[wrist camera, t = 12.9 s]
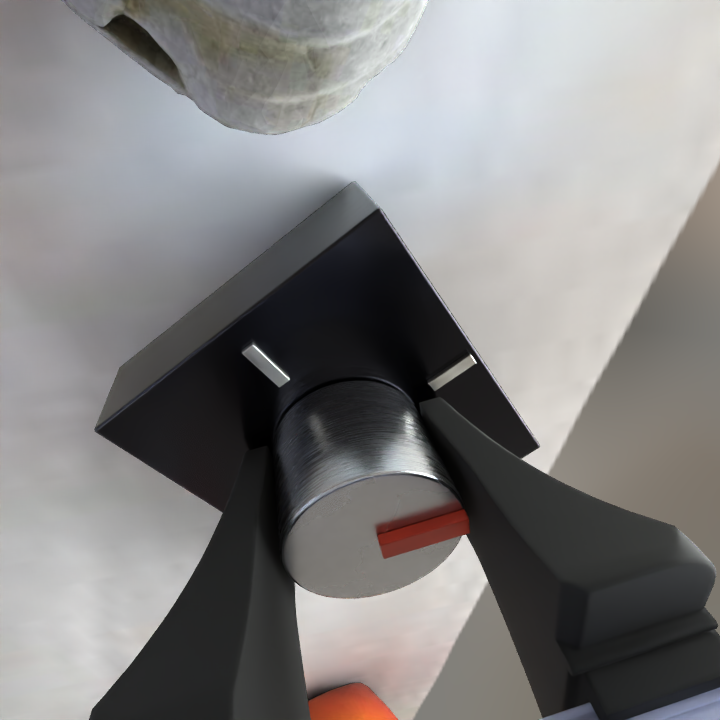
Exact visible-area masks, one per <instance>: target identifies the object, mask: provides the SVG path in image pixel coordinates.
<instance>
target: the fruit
mask: <svg viewBox="0 0 720 720" xmlns="http://www.w3.org/2000/svg"><path fill="white" fill-rule="evenodd" d="M308 705H309V711H310V717H311V720H398V719H397V718H396V716H395V715H394V714H393V713H392V712H391V710H390V709H389V708H388V707H387V706H386V705H385V703H383V702H382V701H381V700H380V699H379V698H378V697H377V696H376V695H375V693H374V692H373V691H372V690H371V689H370V688H369V687H367V686H366V685H364V684H362V683H351V684H348V685H345V686H342V687H339V688H336V689H333V690H329V691H328V692H325V693H323V694H321V695H319V696H317V697H315V698H313V699H311V700H309V701H308Z"/></svg>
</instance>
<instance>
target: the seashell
mask: <svg viewBox="0 0 720 720" xmlns="http://www.w3.org/2000/svg"><path fill="white" fill-rule="evenodd" d="M62 1H63V2H64V3H65V4H66V5H67V6H68V7H69V8H70V9H71V10H72V11H73V12H74V13H75V14H76V15H78V16H79V17H80V18H81V19H82V20H84V21H85V22H86V23H87V24H88V25H90V26H91V27H92V28H94V29H95V30H96V31H98V32H99V33H100V34H102V35H103V36H104V37H105V38H107V39H108V40H109V41H110V42H112V43H113V44H114V45H115V46H117V47H118V48H119V49H120V50H122V51H123V52H124V53H125V54H126V55H128V56H129V57H130V58H132V59H133V60H134V61H136V62H137V63H138V64H140V65H141V66H142V67H143V68H145V69H146V70H147V71H148V72H150V73H151V74H152V75H154V76H155V77H157V78H158V79H160V80H161V81H163V82H164V83H166V84H167V85H169V86H170V87H172V88H173V89H174V90H175V91H176V92H177V93H178V94H182V95H186V96H187V97H189V98H190V99H191V100H193V101H194V102H195V104H196V105H197V106H198V108H199V109H200V110H202V111H203V112H204V113H206V114H207V115H209V116H210V117H212V118H214V119H215V120H217V121H218V122H220V123H221V124H223V125H224V126H227V127H229V128H233V129H238V130H242V131H247V132H251V133H259V134H266V135H267V134H271V135H277V134H282V133H286V132H289V131H292V130H296V129H299V128H302V127H305V126H310V125H314V124H317V123H320V122H322V121H324V120H325V119H327V118H329V117H331V116H333V115H335V114H337V113H338V112H340V111H341V110H343V109H344V108H345V107H347V106H348V105H349V104H350V103H352V102H353V101H354V100H355V99H356V98H357V97H358V95H359V93H360V91H361V90H362V89H363V87H364V86H365V85H366V84H367V83H368V82H369V81H370V80H371V79H372V78H373V77H375V76H376V75H378V74H379V73H380V72H381V71H382V70H383V69H384V68H385V67H387V66H388V65H390V64H391V63H392V62H394V61H395V60H396V58H397V57H398V56H399V55H400V54H401V53H402V52H403V50H404V49H405V48H406V46H407V44H408V42H409V41H410V39H411V37H412V35H413V33H414V31H415V29H416V28H417V26H418V23H419V21H420V19H421V17H422V15H423V12H424V10H425V8H426V5H427V3H428V1H429V0H62Z"/></svg>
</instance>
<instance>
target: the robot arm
mask: <svg viewBox="0 0 720 720" xmlns="http://www.w3.org/2000/svg"><path fill="white" fill-rule="evenodd" d="M419 404H420V411H421V418H422V421H423V423H424V425H425V427H426V429H427V431H428V433H429V435H430V437H431V439H432V441H433V443H434V445H435V447H436V449H437V451H438V453H439V455H440V457H441V459H442V461H443V463H444V465H445V467H446V469H447V471H448V473H449V475H450V477H451V479H452V481H453V483H454V485H455V487H456V489H457V491H458V493H459V495H460V497H461V499H462V501H463V504H464V508H465V511H466V513H467V515H468V517H469V525H470V533H469V534H466V535H467V537H468V539H469V541H470V543H471V544H472V546H473V548H474V550H475V552H476V554H477V556H478V558H479V560H480V562H481V565H482V567H483V569H484V572H485V574H486V577H487V579H488V581H489V584H490V586H491V588H492V590H493V593H494V595H495V598H496V600H497V603H498V605H499V608H500V610H501V613H502V614H503V617H504V620H505V622H506V625H507V627H508V630H509V631H510V635H511V637H512V640H513V642H514V645H515V647H516V649H517V652H518V655H519V657H520V660H521V662H522V665H523V667H524V670H525V673H526V675H527V678H528V680H529V683H530V685H531V688H532V691H533V693H534V696H535V699H536V701H537V704H538V707H539V709H540V712H541V715H542V717H543V718H542V719H539V720H720V636H719V634H718V633H717V632H716V631H715V629H717V627H718V624H717V622H716V620H715V619H714V618H713V617H712V615H711V614H710V613H709V612H708V611H707V610H706V608H705V607H704V606H705V604H706V602H707V599H708V597H709V595H710V592H711V590H712V588H713V585H714V582H715V578H716V570H715V567H714V564H713V563H712V562H711V561H710V560H709V559H708V558H707V557H706V556H705V555H704V554H703V553H702V552H701V551H700V549H699V548H698V547H697V546H696V545H695V544H694V543H692V541H691V540H690V539H688V538H687V537H686V536H685V535H684V534H683V533H682V532H680V531H679V530H678V529H677V528H676V527H675V526H673V525H670V524H667V523H664V522H661V521H658V520H655V519H652V518H649V517H645V516H643V515H639V514H636V513H633V512H630V511H628V510H625V509H622V508H620V507H617V506H615V505H612V504H609V503H607V502H604V501H602V500H599V499H597V498H595V497H592V496H590V495H588V494H586V493H584V492H581V491H579V490H577V489H575V488H573V487H571V486H568V485H566V484H564V483H562V482H560V481H558V480H556V479H555V478H552V477H551V476H549V475H547V474H545V473H543V472H542V471H540V470H538V469H536V468H535V467H533V466H531V465H530V464H528V463H526V462H525V461H523V460H522V459H520V458H518V457H517V456H515V455H514V454H512V453H511V452H509V451H508V450H506V449H505V448H503V447H502V446H501V445H499V444H498V443H496V442H495V441H494V440H492V439H491V438H490V437H488V436H487V435H486V434H484V433H483V432H482V431H480V430H479V429H478V428H476V427H475V426H474V425H473V424H471V423H470V422H469V421H468V420H467V419H465V418H464V417H463V416H462V415H461V414H459V413H458V412H457V411H456V410H455V409H454V408H453V407H451V406H450V405H449V404H448V403H447V402H446V401H445V400H444V399H442V398H440V397H438V398H434V399H431V400H427V401H423V402H420V403H419ZM89 720H311V717H310V711H309V705H308V698H307V692H306V685H305V678H304V671H303V664H302V657H301V650H300V642H299V635H298V627H297V619H296V607H295V584H294V581H293V580H292V578H291V577H290V576H289V575H288V573H287V572H286V570H285V568H284V566H283V564H282V561H281V555H280V543H279V530H278V517H277V503H276V490H275V477H274V463H273V458H272V455H271V453H270V450H269V448H268V446H264V447H260V448H256V449H253V450H249V451H246V453H245V454H244V456H243V459H242V462H241V465H240V469H239V472H238V475H237V478H236V480H235V483H234V486H233V489H232V491H231V494H230V497H229V499H228V501H227V504H226V506H225V509H224V511H223V514H222V516H221V519H220V521H219V523H218V525H217V527H216V529H215V532H214V534H213V536H212V538H211V540H210V542H209V544H208V546H207V548H206V550H205V552H204V554H203V556H202V558H201V560H200V562H199V564H198V566H197V567H196V569H195V571H194V573H193V574H192V576H191V578H190V580H189V581H188V583H187V585H186V586H185V588H184V589H183V591H182V593H181V594H180V596H179V597H178V599H177V601H176V602H175V604H174V605H173V607H172V608H171V610H170V611H169V613H168V614H167V616H166V617H165V619H164V620H163V622H162V623H161V624H160V626H159V627H158V628H157V630H156V631H155V633H154V634H153V635H152V637H151V638H150V639H149V641H148V642H147V643H146V645H145V646H144V648H143V649H142V650H141V652H140V653H139V654H138V656H137V657H136V658H135V659H134V661H133V662H132V663H131V665H130V666H129V667H128V668H127V669H126V671H125V672H124V673H123V674H122V675H121V676H120V678H119V679H118V680H117V681H116V682H115V684H114V685H113V686H112V687H111V688H110V689H109V691H108V692H107V693H106V694H105V695H104V696H103V698H102V699H101V700H100V701H99V702H98V703H97V704H96V706H95V707H94V708H93V709H92V712H91V715H90V719H89Z"/></svg>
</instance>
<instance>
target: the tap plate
mask: <svg viewBox="0 0 720 720" xmlns="http://www.w3.org/2000/svg"><path fill="white" fill-rule="evenodd" d="M354 380H364V381H373V382H378V383H382V384H385V385H388V386H390V387H392V388H394V389H396V390H398V391H400V392H401V393H403V394H404V395H405V396H406V397H408V399H409V400H410V401H411V402H412V403H413V404H414V406H415V407H416V409H417V411H418V413H419V415H420V417H421V411H420V404H419V403H420V402H423V401H427V400H431V399H434V398H438V397H440V398H442V399H444V400H445V401H446V402H447V403H448V404H449V405H450V406H451V407H453V408H454V409H455V410H456V411H457V412H458V413H459V414H461V415H462V416H463V417H464V418H465V419H467V420H468V421H469V422H470V423H471V424H473V425H474V426H475V427H476V428H478V429H479V430H480V431H482V432H483V433H484V434H486V435H487V436H488V437H490V438H491V439H492V440H494V441H495V442H496V443H498V444H499V445H501V446H502V447H503V448H505V449H506V450H508V451H509V452H511V453H512V454H514V455H515V456H517V457H518V458H520V459H522V458H523V457H525V456H526V455H528V454H530V453H531V452H533V451H534V450H536V449H538V448H539V447H540V445H539V443H538V441H537V440H536V438H535V437H534V436H533V434H532V433H531V431H530V430H529V428H528V427H527V425H526V424H525V422H524V421H523V419H522V418H521V416H520V415H519V413H518V412H517V410H516V409H515V407H514V406H513V404H512V403H511V401H510V400H509V398H508V397H507V395H506V394H505V392H504V391H503V389H502V388H501V386H500V385H499V383H498V382H497V380H496V379H495V377H494V376H493V374H492V373H491V371H490V370H489V368H488V367H487V365H486V364H485V362H484V361H483V359H482V358H481V356H480V355H479V354H478V352H477V351H476V349H475V348H474V346H473V345H472V343H471V342H470V340H469V339H468V337H467V336H466V334H465V333H464V331H463V330H462V328H461V327H460V325H459V324H458V322H457V321H456V319H455V318H454V316H453V315H452V313H451V312H450V310H449V309H448V307H447V306H446V304H445V303H444V301H443V300H442V298H441V297H440V295H439V294H438V292H437V291H436V289H435V288H434V286H433V285H432V283H431V282H430V280H429V279H428V277H427V276H426V274H425V273H424V272H423V270H422V269H421V267H420V266H419V264H418V263H417V261H416V260H415V258H414V257H413V255H412V254H411V252H410V251H409V249H408V248H407V246H406V245H405V243H404V242H403V240H402V239H401V237H400V236H399V234H398V233H397V231H396V230H395V228H394V227H393V225H392V224H391V222H390V221H389V219H388V218H387V216H386V215H385V213H384V212H383V210H382V209H381V208H380V207H379V206H378V205H377V204H376V203H375V202H374V201H373V199H372V198H371V197H370V196H369V195H368V194H367V193H366V192H365V191H364V190H363V189H362V188H361V187H360V186H359V185H358V184H357V183H356V182H355V181H353V182H351V183H350V184H349V185H348V186H346V187H345V188H344V189H343V190H341V191H340V192H339V193H338V194H336V195H335V196H334V197H333V198H331V199H330V200H329V201H328V202H326V203H325V204H324V205H323V206H321V207H320V208H319V209H318V210H316V211H315V212H314V213H313V214H311V215H310V216H309V217H308V218H306V219H305V220H304V221H303V222H301V223H300V224H299V225H298V226H296V227H295V228H294V229H293V230H291V231H290V232H289V233H288V234H286V235H285V236H284V237H283V238H281V239H280V240H279V241H278V242H276V243H275V244H274V245H273V246H271V247H270V248H269V249H268V250H266V251H265V252H264V253H263V254H261V255H260V256H259V257H258V258H256V259H255V260H254V261H253V262H251V263H250V264H249V265H248V266H246V267H245V268H244V269H243V270H241V271H240V272H239V273H238V274H236V275H235V276H234V277H233V278H231V279H230V280H229V281H228V282H226V283H225V284H224V285H223V286H221V287H220V288H219V289H218V290H216V291H215V292H214V293H213V294H211V295H210V296H209V297H207V298H206V299H205V300H204V301H202V302H201V303H200V304H199V305H197V306H196V307H195V308H194V309H192V310H191V311H190V312H189V313H187V314H186V315H185V316H184V317H182V318H181V319H180V320H179V321H177V322H176V323H175V324H174V325H172V326H171V327H170V328H169V329H167V330H166V331H165V332H164V333H162V334H161V335H160V336H159V337H157V338H156V339H155V340H154V341H152V342H151V343H150V344H149V345H147V346H146V347H145V348H144V349H142V350H141V351H140V352H139V353H137V354H136V355H135V356H134V357H132V358H131V359H130V360H129V361H127V362H126V363H125V364H124V365H122V366H121V367H120V368H119V370H118V373H117V375H116V378H115V380H114V383H113V385H112V387H111V390H110V392H109V395H108V397H107V400H106V402H105V405H104V407H103V410H102V412H101V414H100V417H99V419H98V422H97V424H96V427H95V429H94V430H95V432H96V433H98V434H100V435H101V436H103V437H104V438H106V439H107V440H109V441H111V442H112V443H114V444H115V445H117V446H118V447H120V448H122V449H123V450H125V451H126V452H128V453H130V454H131V455H133V456H134V457H136V458H137V459H139V460H141V461H142V462H144V463H145V464H147V465H148V466H150V467H152V468H153V469H155V470H156V471H158V472H159V473H161V474H163V475H164V476H166V477H167V478H169V479H171V480H172V481H174V482H175V483H177V484H178V485H180V486H182V487H183V488H185V489H186V490H188V491H189V492H191V493H193V494H194V495H196V496H197V497H199V498H200V499H202V500H204V501H205V502H207V503H208V504H210V505H212V506H213V507H215V508H216V509H218V510H219V511H221V512H223V511H224V509H225V506H226V504H227V501H228V499H229V497H230V494H231V491H232V489H233V486H234V483H235V480H236V478H237V475H238V472H239V469H240V465H241V462H242V459H243V456H244V454H245V453H246V451H249V450H253V449H256V448H260V447H264V446H268V448H269V450H270V453H271V455H272V458H273V440H274V436H275V433H276V430H277V428H278V426H279V424H280V422H281V421H282V419H283V417H284V416H285V415H286V413H287V412H288V411H289V410H290V409H291V408H292V407H293V406H294V405H295V404H296V403H297V402H299V401H300V400H301V399H302V398H304V397H305V396H307V395H309V394H310V393H312V392H314V391H316V390H318V389H320V388H323V387H325V386H328V385H331V384H335V383H340V382H345V381H354ZM421 419H422V418H421Z"/></svg>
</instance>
